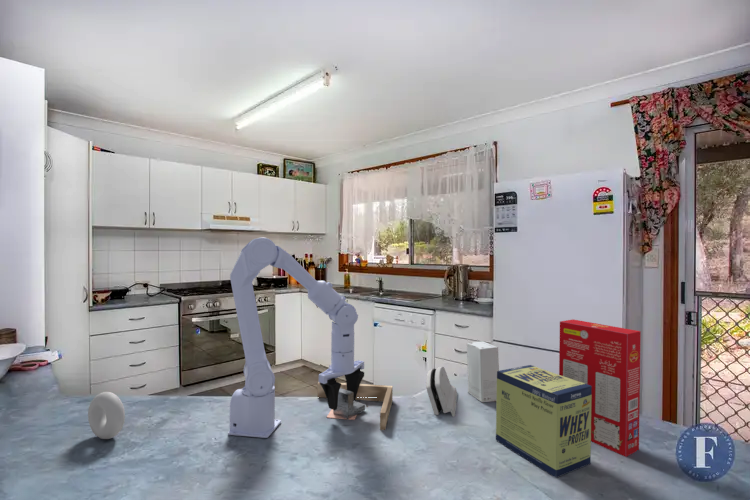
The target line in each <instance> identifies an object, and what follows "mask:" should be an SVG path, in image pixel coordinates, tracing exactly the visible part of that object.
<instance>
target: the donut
mask: <svg viewBox="0 0 750 500" xmlns="http://www.w3.org/2000/svg"><path fill="white" fill-rule="evenodd" d="M87 409H88V410H87V420H88V424H89V427H90V429H91V431H92V433H93V434H94V436H96V437H97V438H99V439H101V440H109V439H113V438H114V437H116V436H118V434H119V433H120V432H121V431H122V429H123V427H124V424H125V422H126V421H125V420H126V414H125V413H126V412H125V411H126V410H125V406H124V404H123V402H122V399H120V397H119V396H118V395H117V394H116V393H113V392H112V391H111V392H110V391H102V392H100V393H98V394H97V395H95V396H94V397H93V398H92V400H91V401H90V403H89V406H88V408H87Z"/></svg>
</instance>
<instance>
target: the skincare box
mask: <svg viewBox="0 0 750 500" xmlns="http://www.w3.org/2000/svg"><path fill="white" fill-rule="evenodd" d="M499 359H500V358H499V346H496V345H493V344H491V343H488V342H486V341H473V342H466V362H467V365H466V366H467V393H468V394H470V395H471V396H472V397H474V398H475V399H477V400H478V401H480V403H488V402H491V403H492V402H496V401H497V371H500V366H499V365H500V364H499V362H500V361H499Z"/></svg>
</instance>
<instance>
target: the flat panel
mask: <svg viewBox="0 0 750 500" xmlns="http://www.w3.org/2000/svg"><path fill="white" fill-rule="evenodd" d="M326 418H327V419H335V420H337V419H338V420H339V419H340V420H347V419H346V418H343V417H341V416H338V415H336V414H333V409H330V410H329V413H328V414H327V416H326ZM356 418H357V415H355V416H353V417H351V418H349V419H348V420H351V421H352V420H353V421H355V420H356Z"/></svg>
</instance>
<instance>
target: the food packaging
mask: <svg viewBox="0 0 750 500" xmlns="http://www.w3.org/2000/svg"><path fill="white" fill-rule="evenodd" d="M641 332H642V331H640V330H636V329H629V328H624V327H619V326H613V325H607V324H601V323H596V322H591V321H583V320H578V319H573V318H572V319H568V320H561V321H559V349H558V350H559V351H558V353H559V355H558V356H559V357H558V358H559V360H558V362H559V363H558V365H559V366H558V367H559V368H558V375H561V376H564V377H567V378H570V379H573V380H576V381H579V382H582V383H585V384H588V385H591V386H592V398H591V441H592V442H591V443H593V442H594V444H596V445H598V446H600V447H602V448H604V449H605V448H606V449H607V450H609V451H612V452H614V453H616V454H619V455H621V456H623V457H626V458H627V457H628V456H630V455H633V454H634V453H636V452H637V450H638V451H639V450H640V407H641V406H640V405H641V403H640V402H641V401H640V399H641V398H640V394H641V393H640V391H641V390H640V389H641V338H642V337H641V336H642V334H641Z"/></svg>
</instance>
